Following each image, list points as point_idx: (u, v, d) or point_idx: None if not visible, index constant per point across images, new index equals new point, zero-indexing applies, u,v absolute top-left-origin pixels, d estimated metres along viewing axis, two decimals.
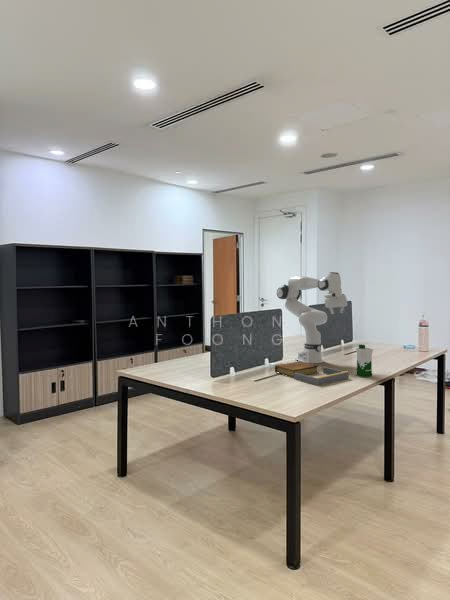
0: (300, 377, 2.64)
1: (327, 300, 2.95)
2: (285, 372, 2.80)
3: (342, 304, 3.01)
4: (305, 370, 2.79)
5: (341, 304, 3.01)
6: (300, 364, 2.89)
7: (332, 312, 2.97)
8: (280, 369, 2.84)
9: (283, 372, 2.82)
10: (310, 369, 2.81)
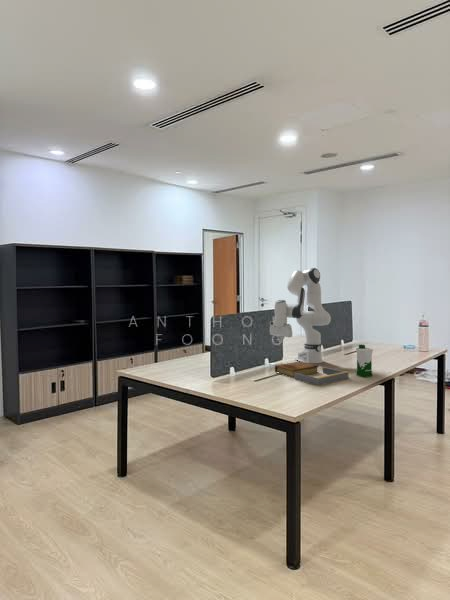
0: (300, 377, 2.64)
1: None
2: (285, 372, 2.80)
3: (283, 334, 2.93)
4: (305, 370, 2.79)
5: (282, 334, 2.94)
6: (300, 364, 2.89)
7: (279, 340, 2.99)
8: (280, 369, 2.84)
9: (283, 372, 2.82)
10: (310, 369, 2.81)
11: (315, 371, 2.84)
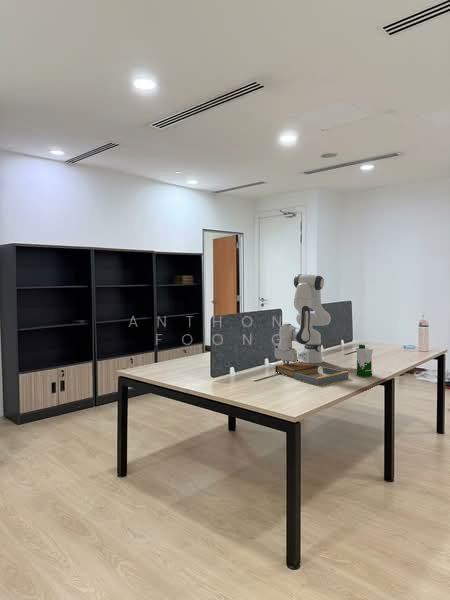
0: (300, 377, 2.64)
1: None
2: (285, 372, 2.80)
3: (288, 358, 2.90)
4: (305, 370, 2.78)
5: (287, 358, 2.91)
6: (301, 364, 2.88)
7: None
8: (280, 369, 2.84)
9: (283, 372, 2.81)
10: (310, 369, 2.81)
11: (316, 371, 2.83)
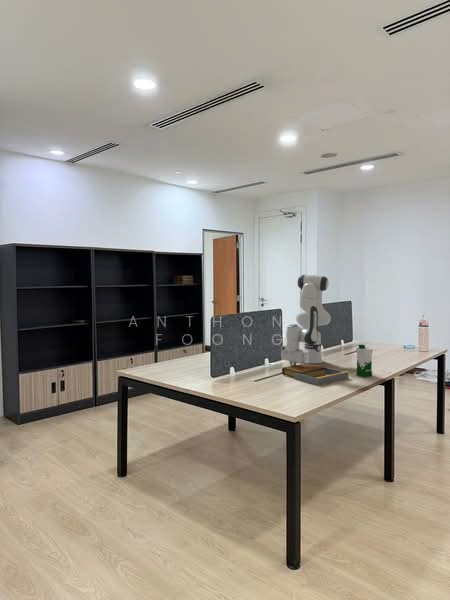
0: (300, 377, 2.64)
1: None
2: (293, 374, 2.74)
3: (295, 360, 2.84)
4: (313, 372, 2.72)
5: (294, 360, 2.85)
6: (308, 366, 2.82)
7: None
8: (287, 371, 2.78)
9: (290, 374, 2.75)
10: (318, 371, 2.75)
11: (323, 373, 2.78)
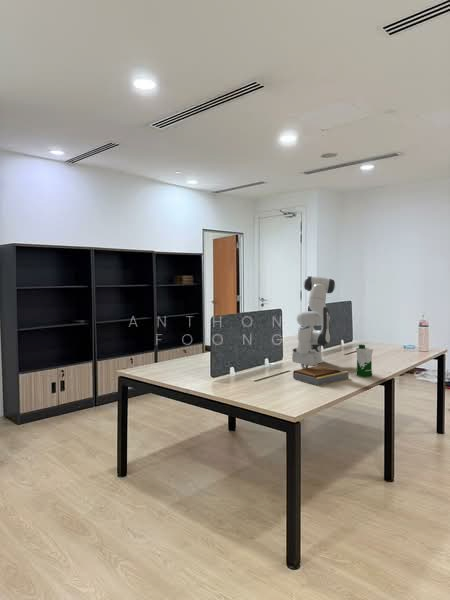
0: (300, 377, 2.64)
1: None
2: None
3: (307, 362, 2.75)
4: None
5: (306, 362, 2.76)
6: (320, 369, 2.73)
7: (302, 368, 2.80)
8: None
9: None
10: None
11: None
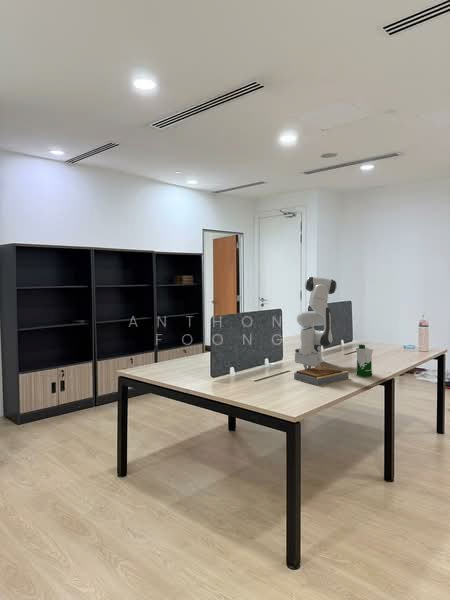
0: (300, 377, 2.64)
1: None
2: None
3: (310, 363, 2.73)
4: None
5: (308, 363, 2.74)
6: (322, 369, 2.71)
7: None
8: None
9: None
10: None
11: None
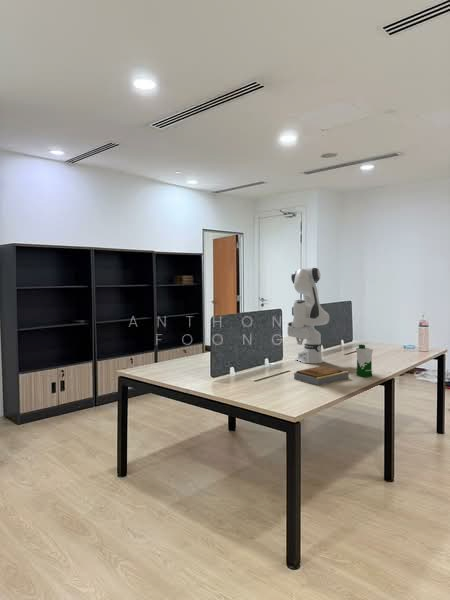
0: (300, 377, 2.64)
1: None
2: None
3: (302, 336, 2.78)
4: None
5: (301, 336, 2.79)
6: (322, 369, 2.71)
7: None
8: None
9: None
10: None
11: None
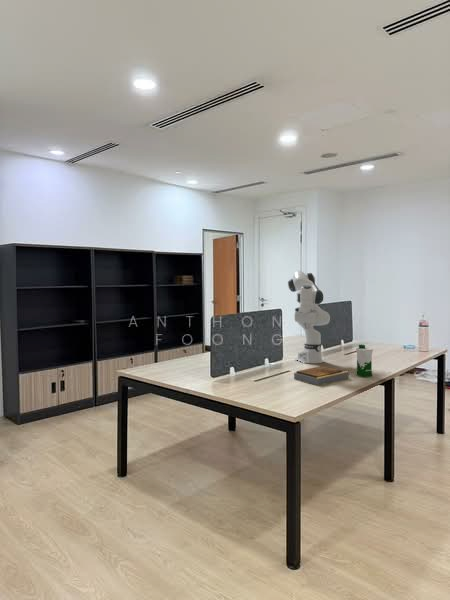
0: (300, 377, 2.64)
1: None
2: None
3: (309, 320, 2.86)
4: None
5: (308, 320, 2.86)
6: (322, 369, 2.71)
7: None
8: None
9: None
10: None
11: None
